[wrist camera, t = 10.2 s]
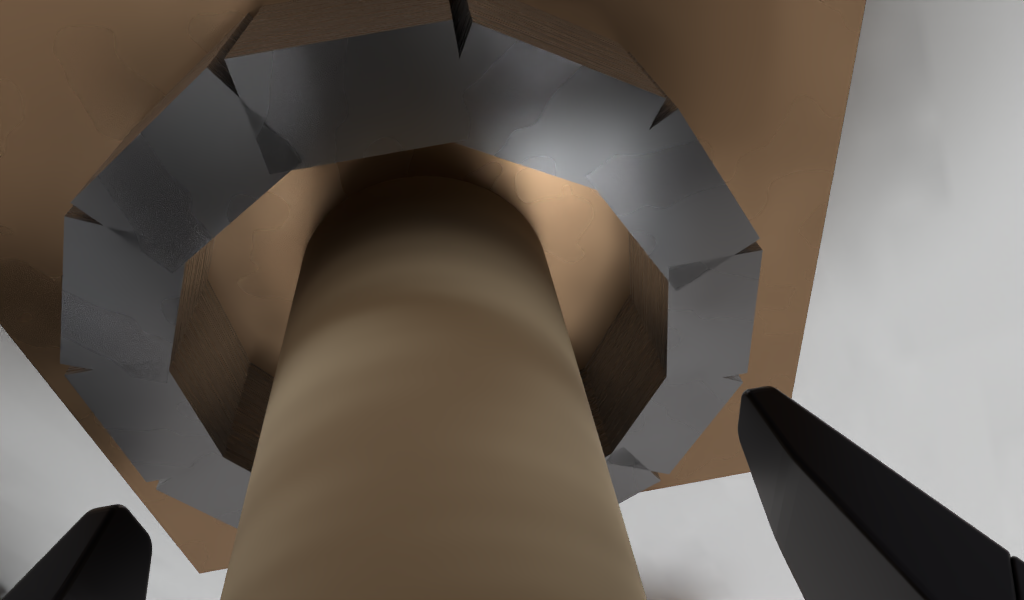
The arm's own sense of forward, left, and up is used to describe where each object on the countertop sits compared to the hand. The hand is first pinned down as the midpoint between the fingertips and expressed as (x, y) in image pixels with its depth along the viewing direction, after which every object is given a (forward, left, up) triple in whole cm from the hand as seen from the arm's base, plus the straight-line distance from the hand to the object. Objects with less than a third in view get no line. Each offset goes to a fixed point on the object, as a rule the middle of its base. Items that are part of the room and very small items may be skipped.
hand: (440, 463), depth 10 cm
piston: (0, 0, -4) cm, 4 cm away
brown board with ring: (0, 0, -5) cm, 5 cm away
